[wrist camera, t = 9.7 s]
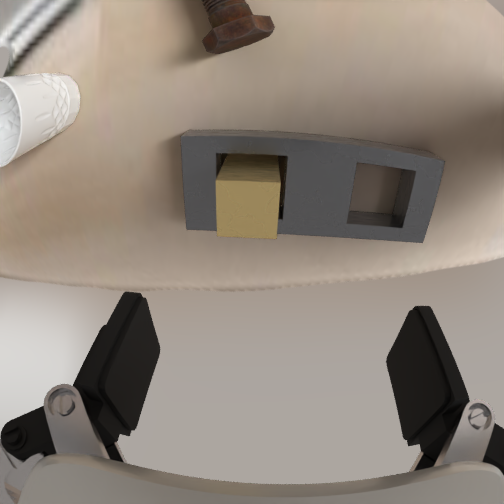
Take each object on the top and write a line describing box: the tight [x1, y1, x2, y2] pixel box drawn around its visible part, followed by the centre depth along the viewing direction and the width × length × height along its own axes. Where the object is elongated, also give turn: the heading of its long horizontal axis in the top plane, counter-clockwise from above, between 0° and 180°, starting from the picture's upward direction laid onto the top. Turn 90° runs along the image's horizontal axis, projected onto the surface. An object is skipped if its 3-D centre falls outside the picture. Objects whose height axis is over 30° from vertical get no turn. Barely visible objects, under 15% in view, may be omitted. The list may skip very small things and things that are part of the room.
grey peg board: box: [181, 130, 445, 243], centre depth 27 cm, size 24×9×3 cm, turn 88°
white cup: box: [0, 73, 80, 167], centre depth 20 cm, size 8×8×10 cm
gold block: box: [216, 153, 281, 239], centre depth 25 cm, size 4×4×8 cm
